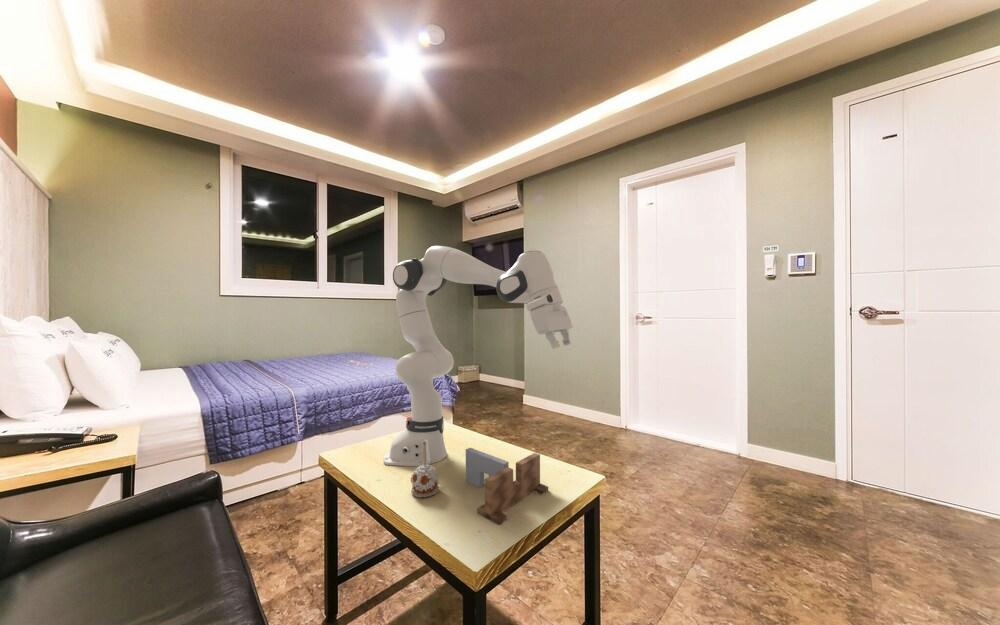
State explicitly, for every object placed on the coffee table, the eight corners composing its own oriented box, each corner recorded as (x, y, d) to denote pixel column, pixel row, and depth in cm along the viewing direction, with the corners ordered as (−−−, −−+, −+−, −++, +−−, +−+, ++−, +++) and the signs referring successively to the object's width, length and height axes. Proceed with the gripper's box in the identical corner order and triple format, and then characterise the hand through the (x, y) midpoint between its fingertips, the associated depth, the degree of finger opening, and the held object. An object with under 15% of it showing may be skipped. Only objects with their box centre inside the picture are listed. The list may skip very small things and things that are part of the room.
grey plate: (508, 496, 103) (508, 461, 103) (504, 498, 102) (504, 464, 101) (470, 478, 114) (470, 447, 113) (465, 481, 112) (465, 449, 112)
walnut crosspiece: (499, 524, 89) (499, 485, 89) (477, 512, 95) (476, 475, 95) (548, 490, 106) (548, 457, 106) (526, 482, 111) (526, 450, 111)
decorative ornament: (406, 496, 103) (405, 445, 103) (421, 483, 111) (420, 435, 110) (429, 501, 101) (429, 448, 100) (443, 488, 108) (442, 438, 108)
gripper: (551, 305, 116) (564, 346, 114) (522, 305, 98) (538, 353, 96) (568, 298, 113) (583, 340, 111) (542, 296, 95) (559, 346, 93)
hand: (562, 346), depth 103 cm, fingers open, 8 cm apart
